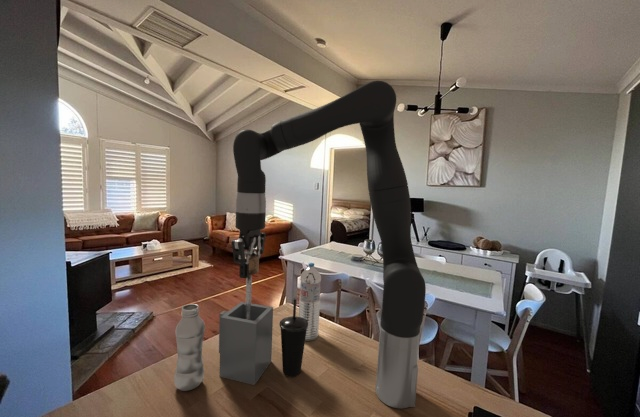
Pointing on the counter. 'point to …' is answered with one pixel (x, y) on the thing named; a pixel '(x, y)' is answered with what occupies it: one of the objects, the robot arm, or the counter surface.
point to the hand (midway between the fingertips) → (249, 274)
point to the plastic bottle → (189, 349)
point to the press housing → (245, 342)
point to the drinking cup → (293, 343)
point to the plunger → (250, 283)
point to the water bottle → (310, 300)
